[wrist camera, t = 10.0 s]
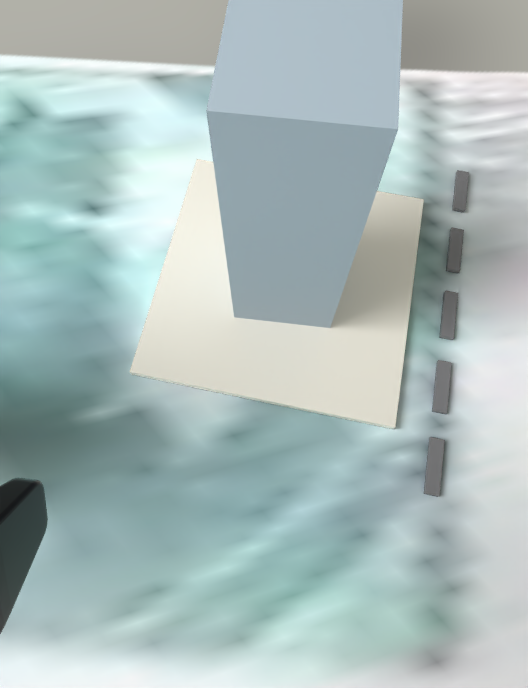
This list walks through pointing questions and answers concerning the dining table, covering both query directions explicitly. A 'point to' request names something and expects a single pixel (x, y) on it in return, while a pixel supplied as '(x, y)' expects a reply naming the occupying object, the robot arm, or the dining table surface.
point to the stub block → (300, 146)
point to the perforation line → (447, 333)
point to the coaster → (283, 338)
